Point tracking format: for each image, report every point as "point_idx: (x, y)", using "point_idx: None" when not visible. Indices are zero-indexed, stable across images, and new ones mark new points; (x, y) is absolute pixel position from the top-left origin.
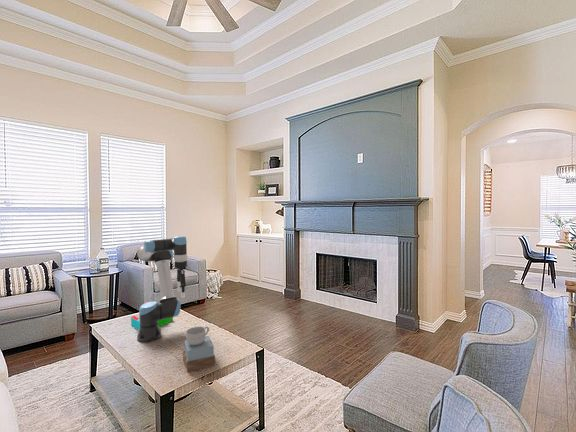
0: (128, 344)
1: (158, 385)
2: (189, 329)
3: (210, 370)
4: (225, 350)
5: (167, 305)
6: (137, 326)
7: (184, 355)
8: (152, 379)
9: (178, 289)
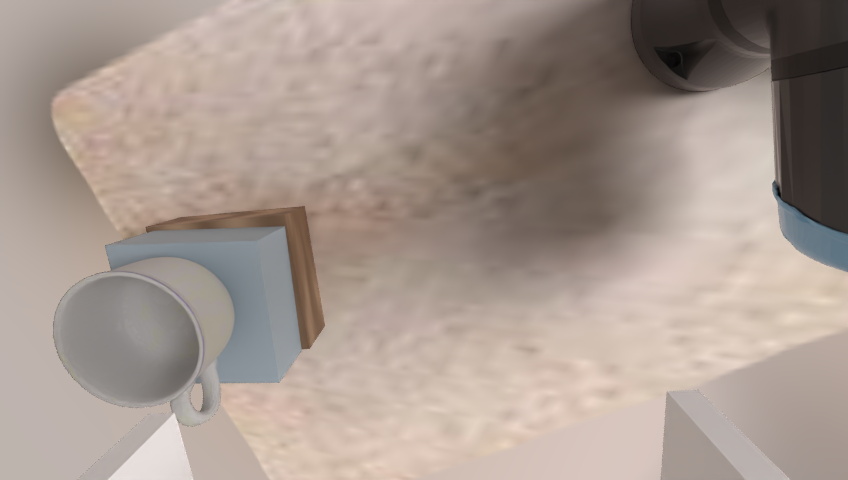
0: None
1: (105, 87)
2: (178, 300)
3: None
4: (331, 396)
5: None
6: None
7: (234, 219)
8: (162, 56)
9: (707, 456)
